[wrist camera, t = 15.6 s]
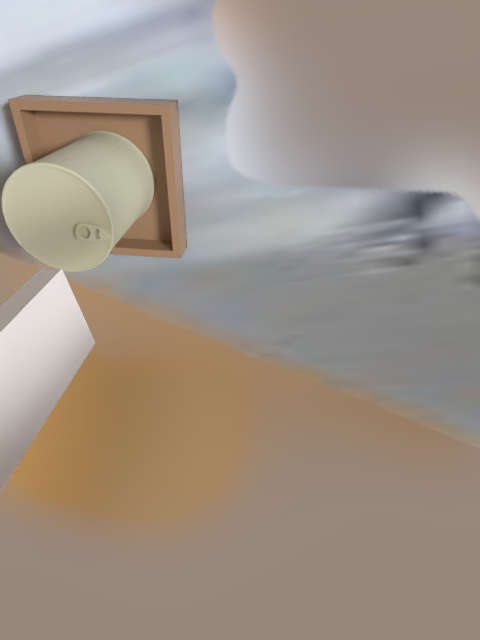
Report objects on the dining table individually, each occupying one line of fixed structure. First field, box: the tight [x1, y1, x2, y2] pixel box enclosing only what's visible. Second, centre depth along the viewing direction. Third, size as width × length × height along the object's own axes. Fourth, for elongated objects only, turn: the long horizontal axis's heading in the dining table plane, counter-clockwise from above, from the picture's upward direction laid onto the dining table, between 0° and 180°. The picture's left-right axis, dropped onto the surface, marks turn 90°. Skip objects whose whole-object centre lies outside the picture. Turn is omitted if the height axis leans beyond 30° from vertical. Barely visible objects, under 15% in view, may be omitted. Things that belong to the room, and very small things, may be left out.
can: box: [1, 131, 154, 272], centre depth 37 cm, size 9×9×12 cm
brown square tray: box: [8, 95, 187, 258], centre depth 41 cm, size 15×15×3 cm
